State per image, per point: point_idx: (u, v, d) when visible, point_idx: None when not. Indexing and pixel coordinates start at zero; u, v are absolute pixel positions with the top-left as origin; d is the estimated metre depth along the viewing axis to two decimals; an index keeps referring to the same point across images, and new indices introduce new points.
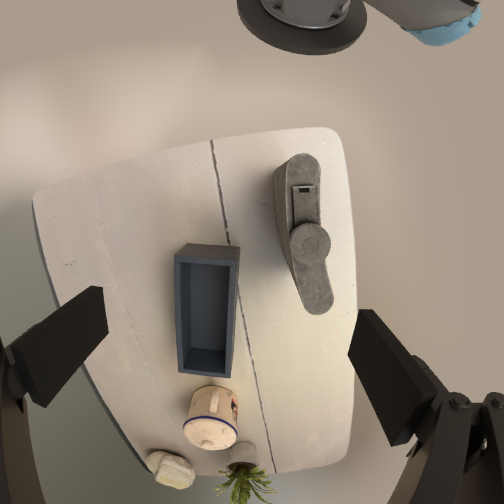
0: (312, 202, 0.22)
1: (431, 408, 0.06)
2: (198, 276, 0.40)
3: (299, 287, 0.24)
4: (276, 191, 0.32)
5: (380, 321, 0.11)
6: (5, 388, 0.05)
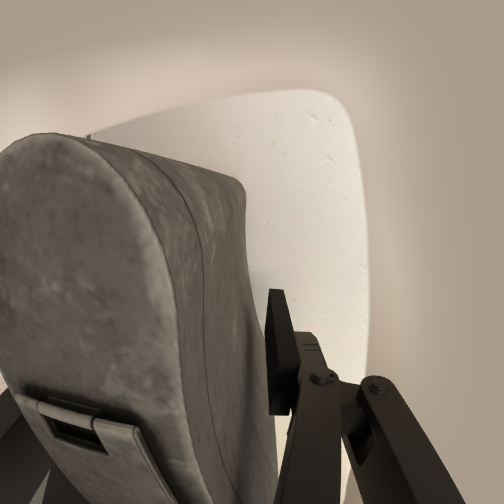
0: (146, 495, 0.02)
1: (297, 379, 0.08)
2: None
3: None
4: None
5: (282, 299, 0.13)
6: None
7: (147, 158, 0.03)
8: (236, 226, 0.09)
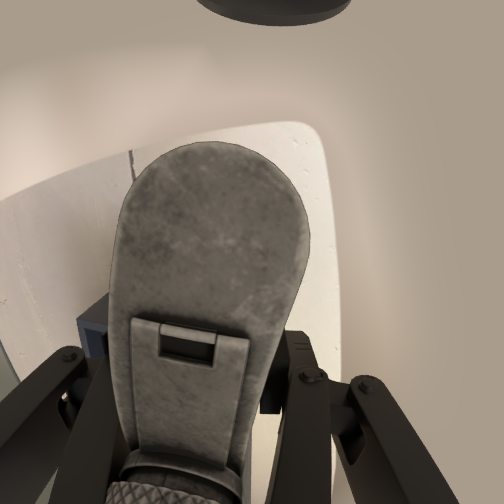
0: (219, 408, 0.04)
1: (287, 378, 0.09)
2: None
3: None
4: None
5: None
6: None
7: None
8: None
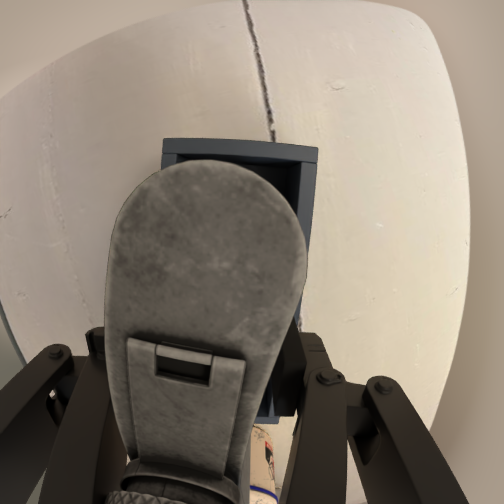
0: (215, 423, 0.04)
1: (303, 380, 0.08)
2: None
3: None
4: None
5: None
6: None
7: None
8: None
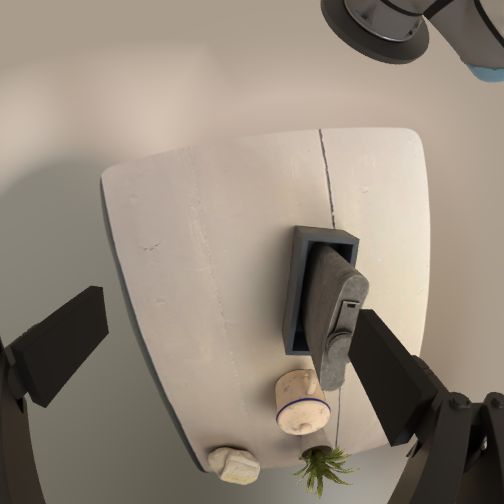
0: (354, 316, 0.26)
1: (431, 409, 0.06)
2: None
3: (321, 372, 0.28)
4: (315, 274, 0.35)
5: (380, 321, 0.11)
6: (5, 388, 0.05)
7: (362, 275, 0.26)
8: None
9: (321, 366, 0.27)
